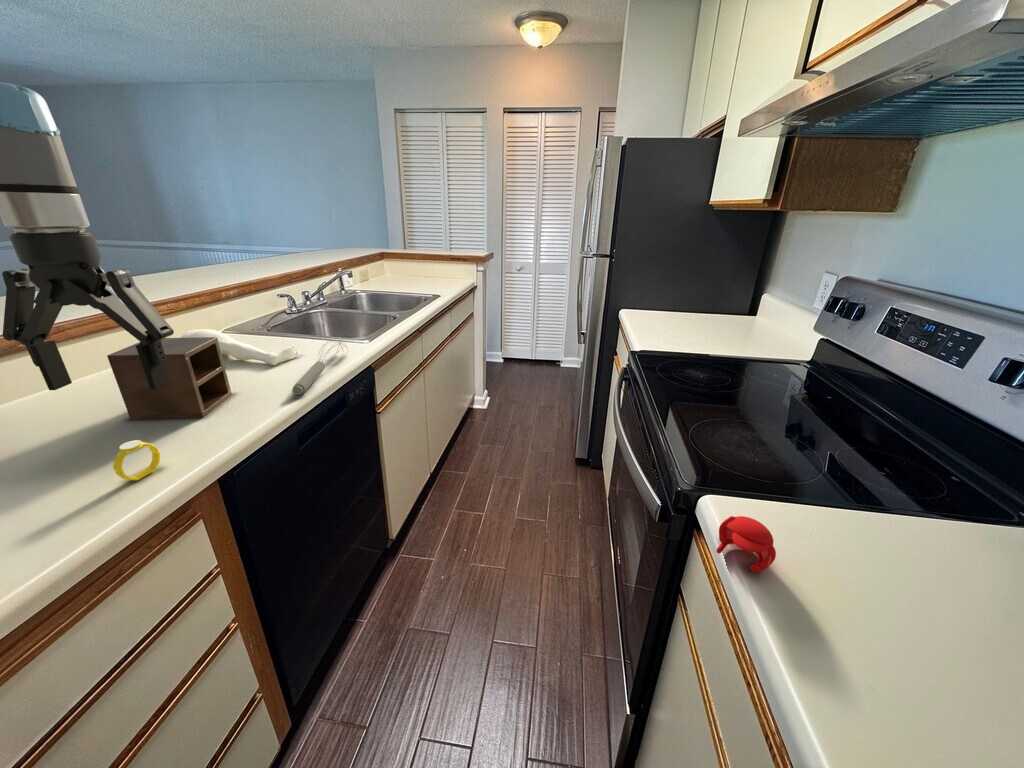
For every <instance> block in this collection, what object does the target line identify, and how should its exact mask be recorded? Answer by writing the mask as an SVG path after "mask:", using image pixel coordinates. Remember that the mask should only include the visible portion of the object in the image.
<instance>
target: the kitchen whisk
mask: <svg viewBox="0 0 1024 768" xmlns="http://www.w3.org/2000/svg"><path fill="white" fill-rule="evenodd" d="M331 339H332V337H330V338H329V339H328V340H327V341H326V342H325V343H324V344H323V345H322V346H321V348H320V350H319V351H318V356H317V358H318V359H317V360H316V362H315V363H313V365H312V366H311V367H310V368H309V369H308V370H307V371H306V372H305V374H303V375H302V376H301V378H300V379H299V380H298V381H297V382H296V383H295V384H294V385H293V387H292V391H291V394H292V396H293V397H294V398H300V397H301V396H302V395H303V394H305V392H306V391H307V390H308V389H309V388H310V386H312V384H313V383H314V382H315V381H316V380H317V378H318V377H319V376H321V374H322V372H324V370H325V369H326V368H327V367H331V366H334V365H335V364H336V363H338V362H339V360H341V359H343V357H344V356H345V354H347V353H348V352H349V349H348V347H346V346H347V341H345V344H343V343H344V341H342V340H340V337H338V338H336V337H334V339H335V341H336V342H334V341H333V340H331ZM330 340H331V341H330ZM339 340H340V341H339ZM329 343H333V344H332V346H331V347H330V348H329V349H328V350H327V352H326V353H325V354H323V353H324V349H325V347H326V345H327V344H329ZM336 343H337V344H336ZM342 345H343V346H342ZM336 346H338V347H337V350H336V352H335V354H334V355H332V356H331V357H330V358H329V359H327V360H326V361H325V362H323V361H324V360H325V358H326V357H327V355H328V354H329V352H330V351H331V349H332V348H334V347H336ZM340 347H341V348H340ZM344 347H346V349H347V350H346V352H345V354H342V355H341V357H339V358H338V359H336V360H334V361H332V360H333V359H334V357H336V355H337V354H338V353H339V352H340V351H344ZM322 354H323V355H322ZM322 358H323V359H322ZM321 360H322V361H321ZM331 361H332V362H331ZM295 395H296V396H295Z"/></svg>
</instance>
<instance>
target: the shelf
mask: <svg viewBox="0 0 1024 768" xmlns="http://www.w3.org/2000/svg"><path fill="white" fill-rule="evenodd" d="M139 343H140V341H139V342H137V343H134V344H132V345H129V346H126V347H124V348H122V349H119V350H117V351H115V352H112V353H109V354H107V355H106V357H107V360H108V363H109V364H110V368H111V371H112V374H113V376H114V379H115V382H116V384H117V387H118V389H119V392H120V395H121V398H122V401H123V403H124V405H125V409H126V411H127V414H128V417H129V419H130V421H135V420H136V421H141V420H169V419H200V418H202V419H203V418H204V417H207V415H208V414H210V413H211V412H212V411H213V410H214V409H216V408H217V407H219V405H221V404H222V403H223V402H224V401H226V400H227V399H228V398H230V396H233V393H232V389H231V386H230V381H229V378H228V375H227V370H226V366H225V362H224V359H223V354H221V351H220V347H219V343H218V339H217V337H201V338H181V337H166V338H163V339H162V340H161V343H162V346H163V350H164V353H165V356H166V362H165V363H163V365H164V368H165V371H166V374H167V377H168V380H169V382H168V383H166V384H164V385H163V386H161V387H159V388H157V389H150V386H149V383H148V380H147V377H146V375H145V372H144V369H143V366H142V363H141V360H140V357H139V354H138V351H137V348H136V345H138V344H139Z"/></svg>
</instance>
